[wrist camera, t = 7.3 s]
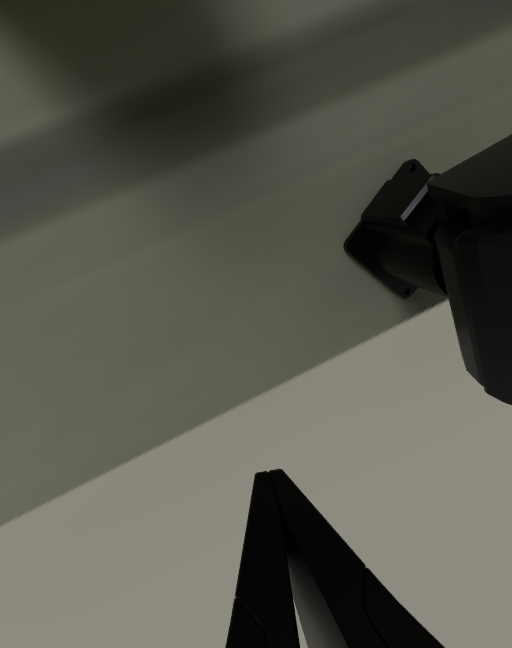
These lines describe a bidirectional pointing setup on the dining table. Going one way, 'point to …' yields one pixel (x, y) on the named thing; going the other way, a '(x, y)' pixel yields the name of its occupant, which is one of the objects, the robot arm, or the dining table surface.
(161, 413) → the dining table surface
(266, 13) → the dining table surface
